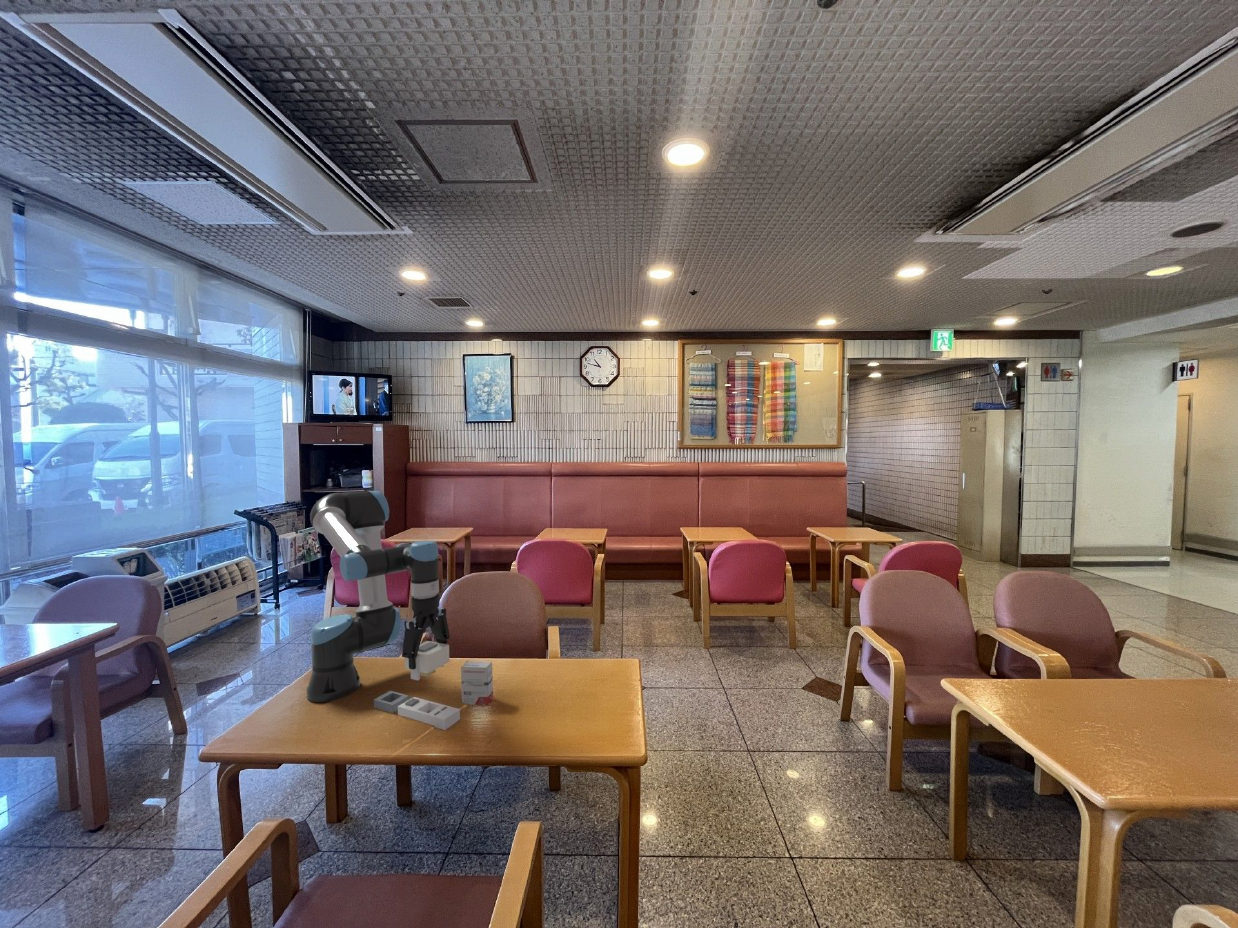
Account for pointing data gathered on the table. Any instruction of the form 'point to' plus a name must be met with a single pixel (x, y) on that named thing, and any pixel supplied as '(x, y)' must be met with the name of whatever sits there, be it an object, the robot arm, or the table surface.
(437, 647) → the plug
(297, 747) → the table surface
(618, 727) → the table surface
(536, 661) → the table surface
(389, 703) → the plug rest
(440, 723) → the socket
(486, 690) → the ink box
